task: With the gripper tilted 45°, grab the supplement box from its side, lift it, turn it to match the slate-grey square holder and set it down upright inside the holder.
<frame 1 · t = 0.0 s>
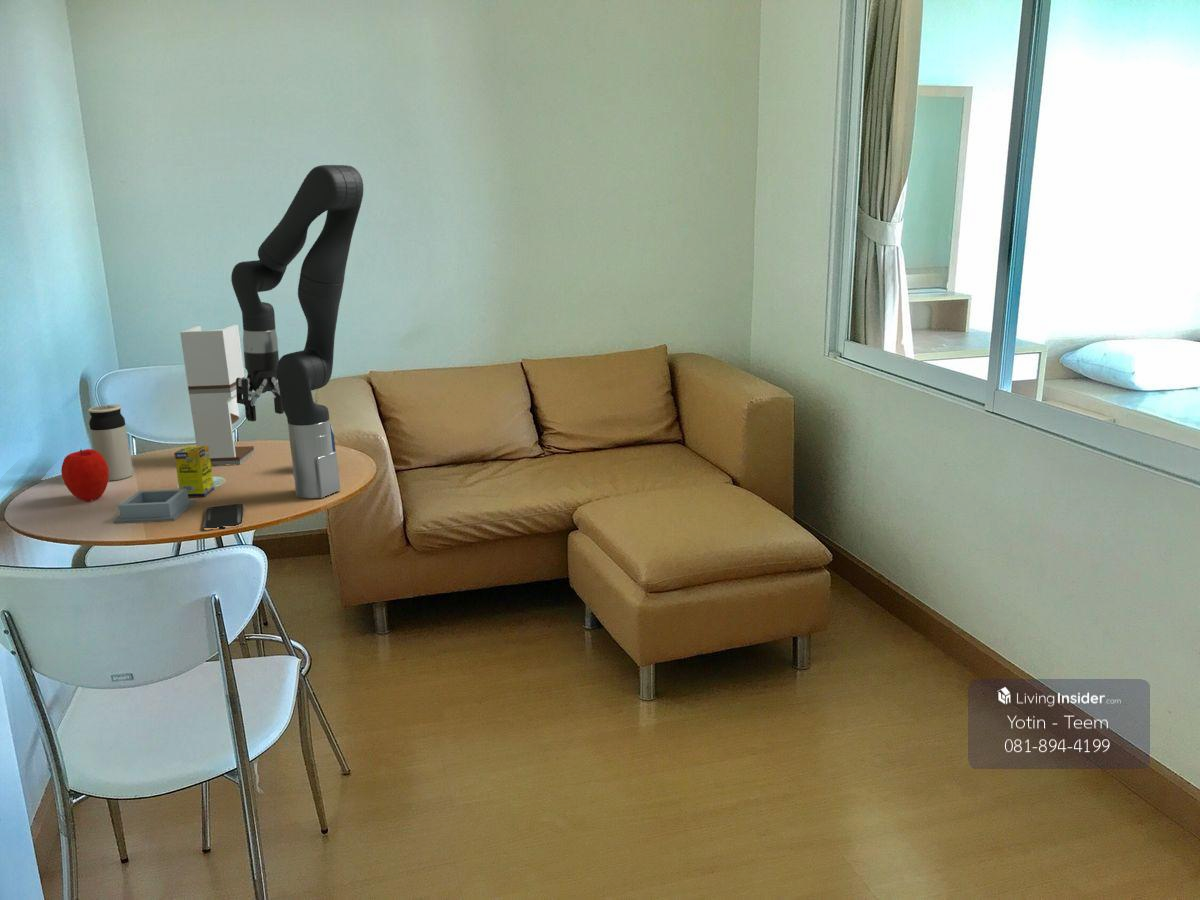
hand: (265, 416, 232), 17 cm above the table, tool pointing down, fingers open, 8 cm apart
travel mug: (116, 478, 250), on the table
holder: (155, 512, 221), on the table
soda can: (323, 469, 252), on the table
supplement box: (197, 494, 234), on the table
phone: (224, 521, 215), on the table
apple: (90, 499, 233), on the table
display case: (227, 460, 264), on the table
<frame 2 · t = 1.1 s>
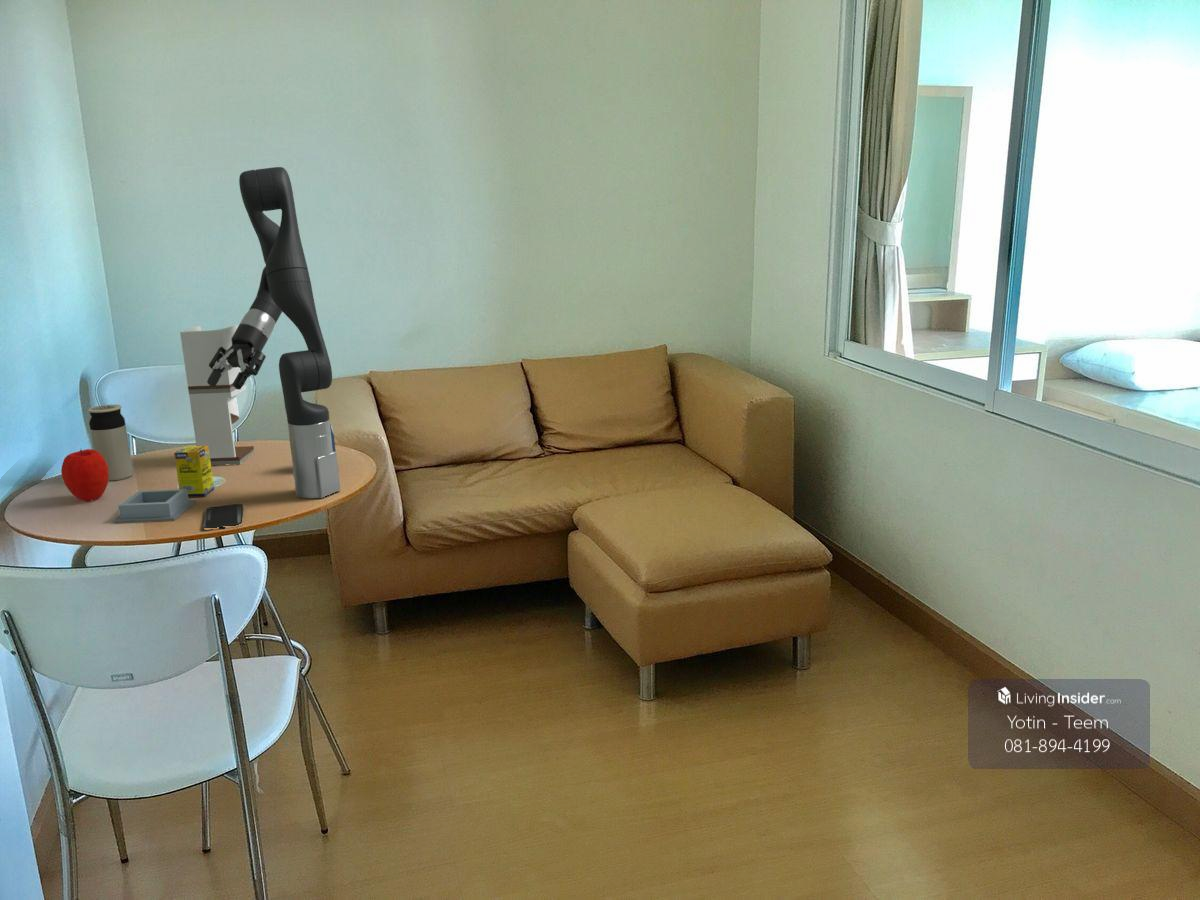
hand: (223, 386, 238), 24 cm above the table, tool tilted 45°, fingers open, 8 cm apart
nothing on the table moved.
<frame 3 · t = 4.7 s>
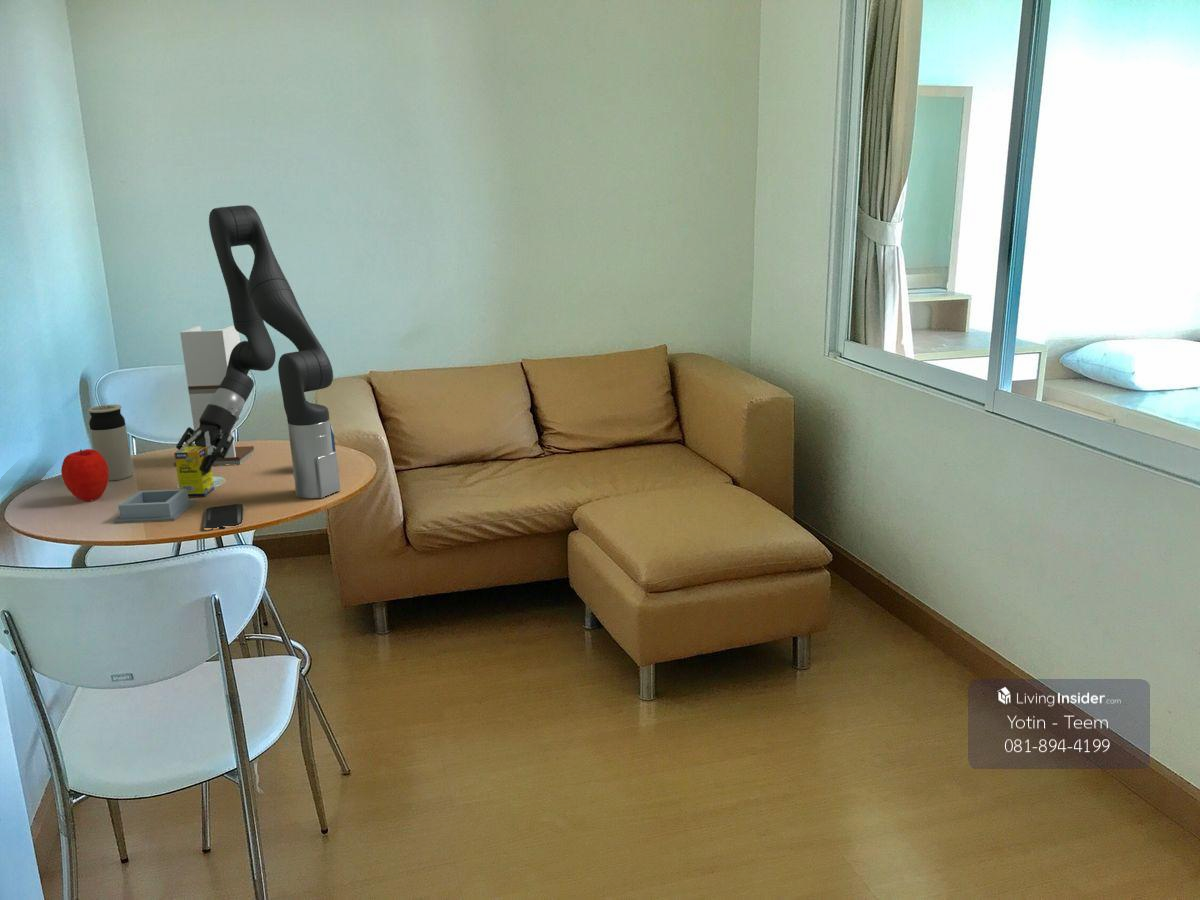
hand: (190, 469, 231), 6 cm above the table, tool tilted 45°, fingers open, 8 cm apart
nothing on the table moved.
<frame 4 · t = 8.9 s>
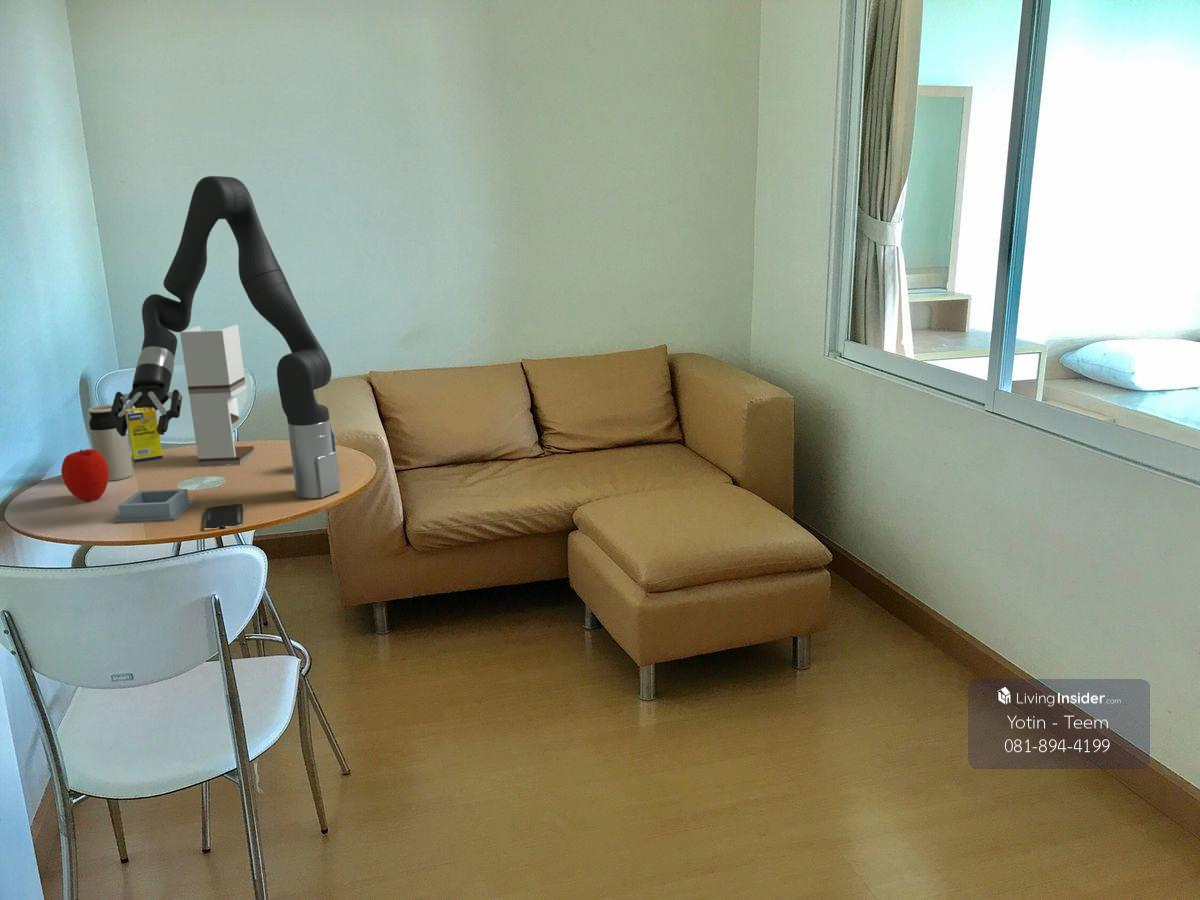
hand: (140, 433, 215), 18 cm above the table, tool tilted 45°, fingers closed on supplement box, 8 cm apart
supplement box: (147, 459, 218), point 12 cm above the table, touching gripper
everything else where it was.
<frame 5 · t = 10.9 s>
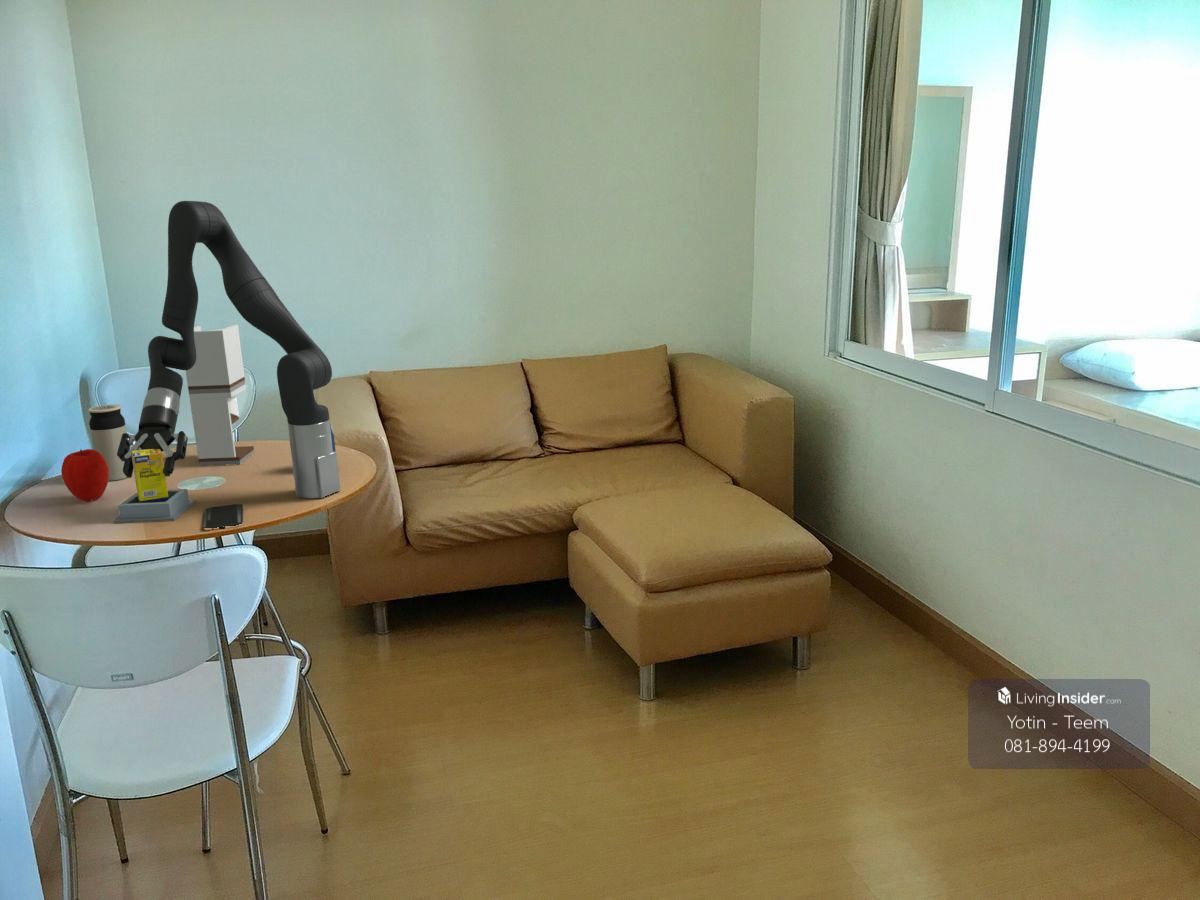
hand: (147, 475, 217), 9 cm above the table, tool tilted 45°, fingers closed on supplement box, 8 cm apart
supplement box: (153, 500, 220), point 3 cm above the table, touching gripper
everything else where it was.
when the fingers open (8 cm above the table, at t = 12.4 s): supplement box drops 1 cm, resting on holder.
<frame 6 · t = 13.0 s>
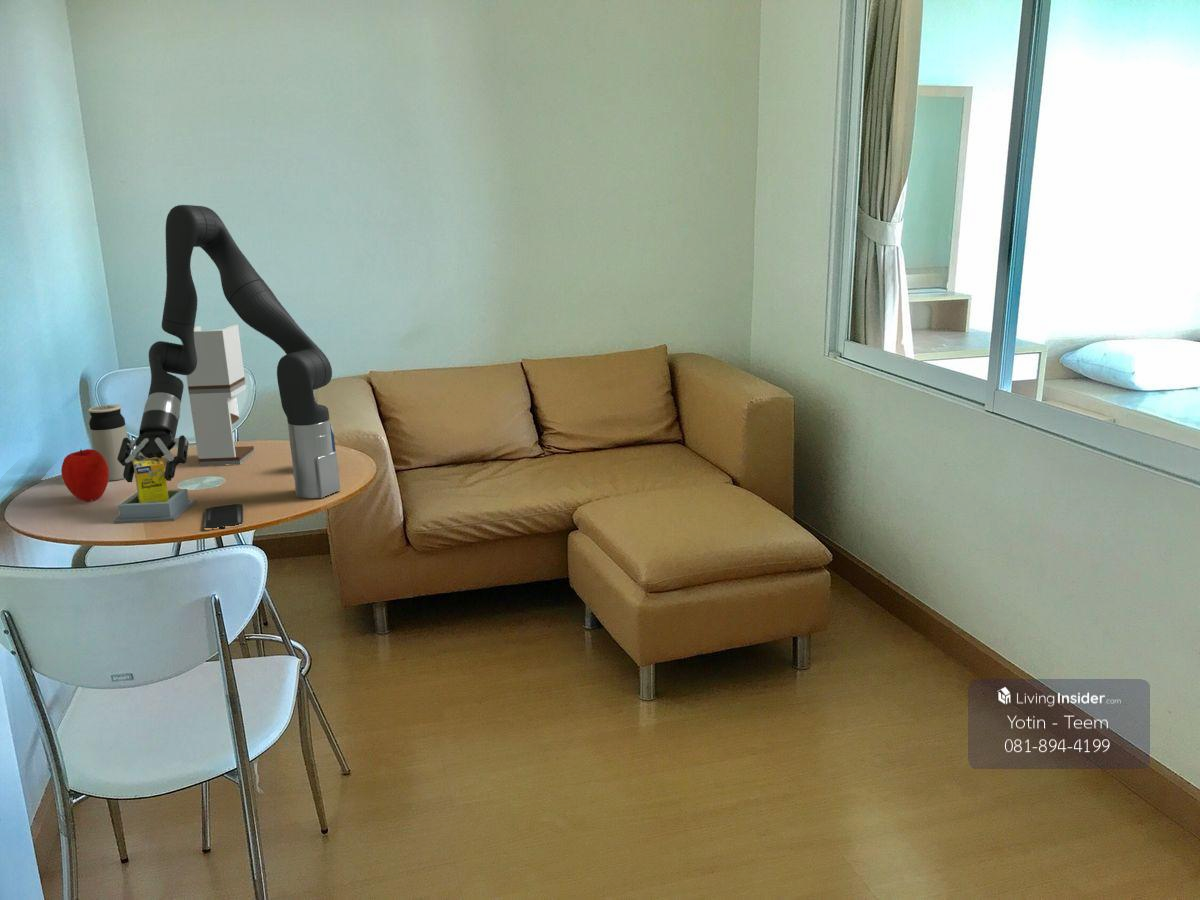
hand: (147, 479, 217), 8 cm above the table, tool tilted 45°, fingers open, 8 cm apart
supplement box: (155, 510, 221), resting on holder, touching gripper
everything else where it was.
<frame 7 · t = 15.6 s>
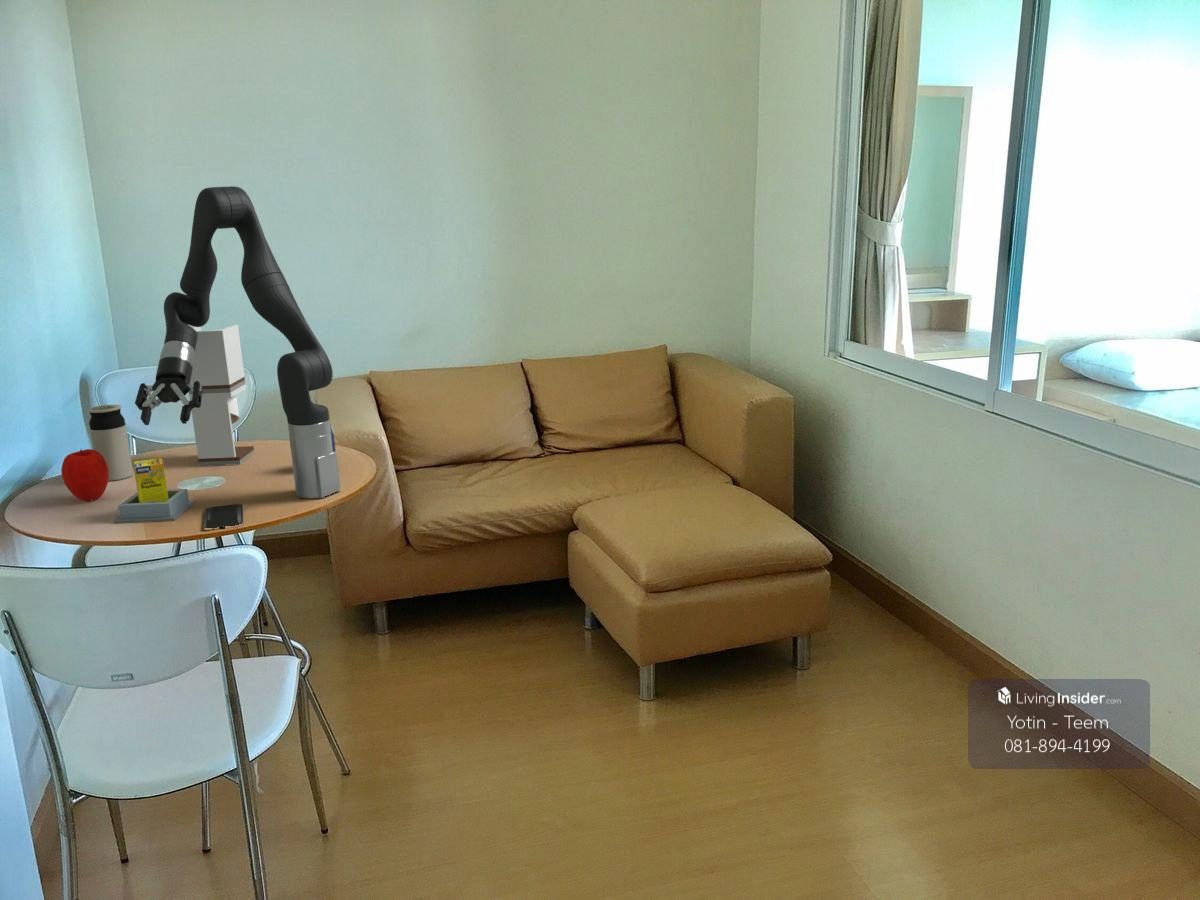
hand: (164, 422, 227), 18 cm above the table, tool tilted 45°, fingers open, 8 cm apart
supplement box: (155, 510, 221), resting on holder
everything else where it was.
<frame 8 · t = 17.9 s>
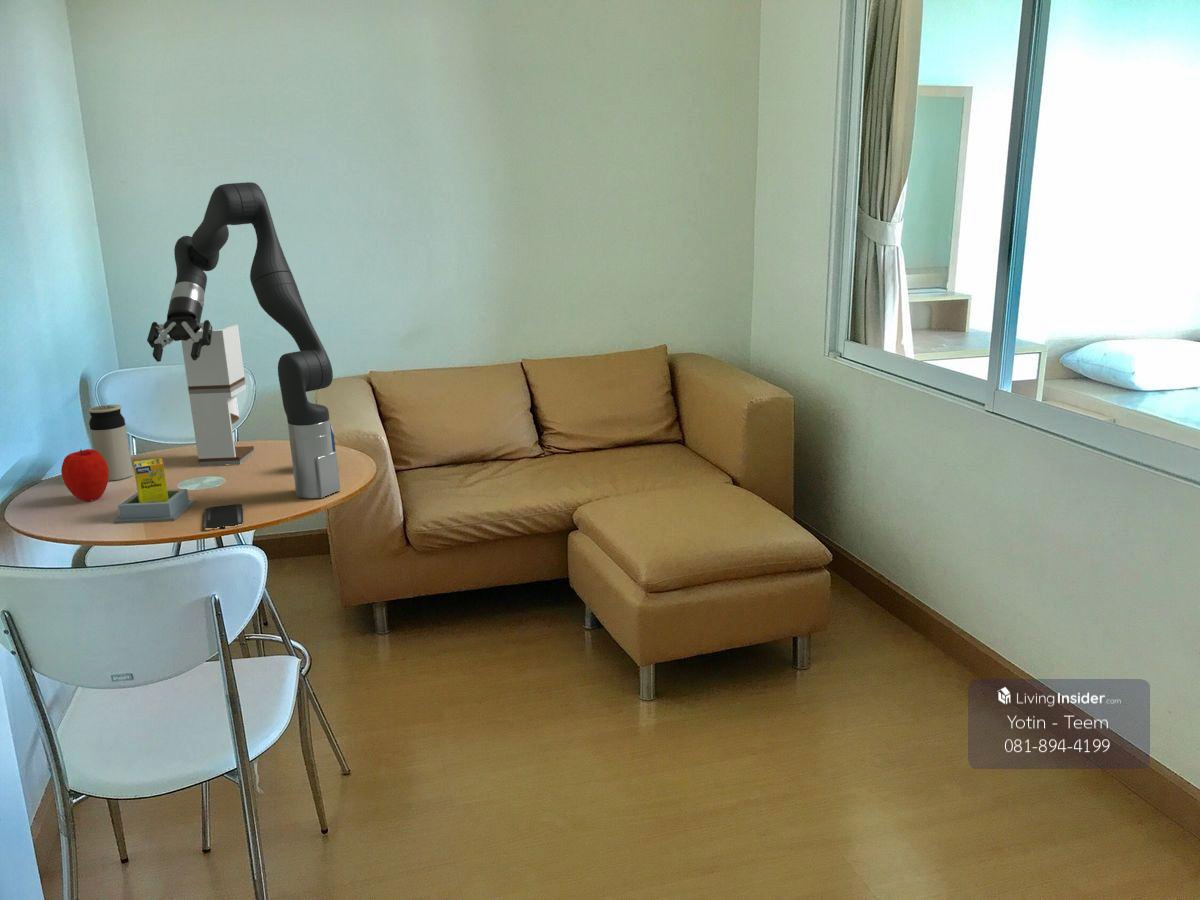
hand: (175, 359, 235), 31 cm above the table, tool tilted 45°, fingers open, 8 cm apart
nothing on the table moved.
at the end: supplement box 0.2 cm off-centre on the holder, point 0.4 cm above the holder's base; supplement box tilted 0°; the gripper is holding nothing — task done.
